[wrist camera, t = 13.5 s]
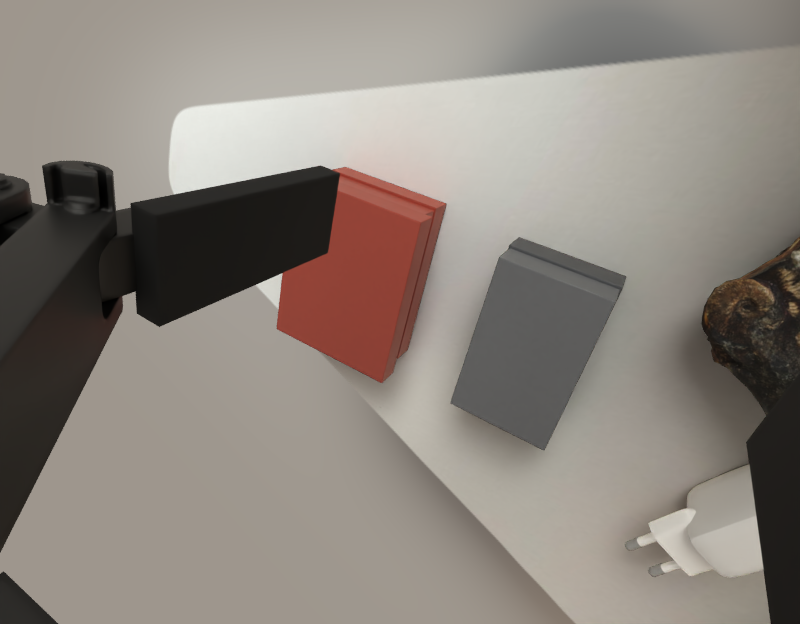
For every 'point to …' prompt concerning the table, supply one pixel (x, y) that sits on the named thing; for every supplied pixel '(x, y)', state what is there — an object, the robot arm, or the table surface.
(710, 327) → the fossil rock
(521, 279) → the grey box
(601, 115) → the table surface
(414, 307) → the red box
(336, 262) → the thin red book
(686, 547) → the power adapter
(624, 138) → the table surface
